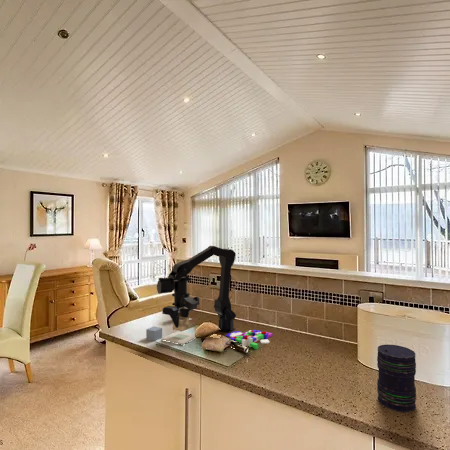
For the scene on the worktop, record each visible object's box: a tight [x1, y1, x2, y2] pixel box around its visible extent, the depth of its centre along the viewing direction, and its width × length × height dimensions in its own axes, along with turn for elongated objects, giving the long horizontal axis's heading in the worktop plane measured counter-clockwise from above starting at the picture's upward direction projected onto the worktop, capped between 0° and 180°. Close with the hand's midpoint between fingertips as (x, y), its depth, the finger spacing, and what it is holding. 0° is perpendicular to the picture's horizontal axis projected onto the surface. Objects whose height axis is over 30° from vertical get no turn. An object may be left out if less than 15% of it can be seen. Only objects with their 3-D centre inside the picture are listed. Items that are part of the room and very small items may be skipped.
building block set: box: [225, 329, 273, 350], centre depth 143 cm, size 25×20×4 cm
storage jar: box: [376, 344, 417, 413], centre depth 92 cm, size 10×10×15 cm
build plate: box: [160, 330, 195, 346], centre depth 144 cm, size 12×12×1 cm
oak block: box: [172, 317, 190, 332], centre depth 144 cm, size 5×5×4 cm
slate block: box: [145, 326, 163, 342], centre depth 145 cm, size 5×5×4 cm
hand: (180, 325), depth 144 cm, fingers closed on oak block, 5 cm apart
